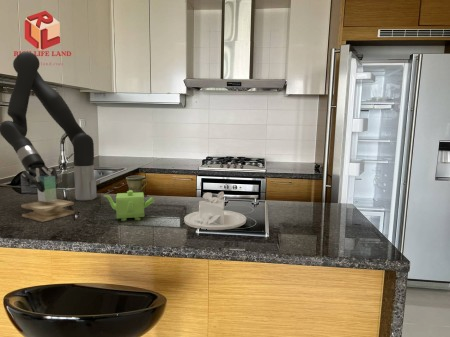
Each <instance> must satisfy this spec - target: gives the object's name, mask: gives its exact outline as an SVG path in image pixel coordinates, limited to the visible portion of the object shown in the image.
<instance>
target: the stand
mask: <svg viewBox="0 0 450 337" xmlns="http://www.w3.org/2000/svg"><path fill="white" fill-rule="evenodd" d="M72 205H75V202H74V201H71V200H70V201H69V200H66V199H65V200H63V199H59V198H56V200H53V201H48V202H43V201H38V200H37V201H33V202H29V203H24V204H21V206H20V207H21V208H23V209H27V210H32V211H30V212H28V213H27V212H26V213H22V214H21V217H22V218H26V219H30V220H33V221H38V222H42V223H43V222H47V221H51V220H55V219H58V218H63V217H66V216H71V215H74V214H75V210H69V209H65V207H68V206H72Z"/></svg>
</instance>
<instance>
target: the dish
mask: <svg viewBox="0 0 450 337" xmlns="http://www.w3.org/2000/svg"><path fill="white" fill-rule="evenodd" d="M224 196H225V193H224V191H219V192H218V194H217V196H213V193H212V192H204V194H203V195H202V198H203V199H205V200H199V201H198V211H194V212H191V213H189V214H188V213H187V214H186V215H185V216H184V218H183V221H184V224H185V225H187V226H188V227H192V228H195V229H199V228H201V229H200V230H206V229H207V230H208V231H223V230H231V229H236V228H239V227H241V226H243V225H245V224H246V222H247V217H246V216H245V215H244V214H242V213H241V212H237V211H232V210H225V199H223V198H224ZM207 230H206V231H207Z"/></svg>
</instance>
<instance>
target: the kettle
mask: <svg viewBox="0 0 450 337" xmlns="http://www.w3.org/2000/svg"><path fill="white" fill-rule="evenodd" d="M104 198H106V199H107V200H108V201H109V204H110V206H111V209H113V210H114V211H116V212H115V215H116V219H118V220H119V219H120V221H121V222H126V221H128V219H130V218H131V219H133V218H134V220H135V221H141V218H144V217H145V209H146V208H147V207H149V206H150V205H152V204H153V203H155V199H154V197H152V196H151V197H150V198H148V199H147V200H146V201H145V194H144V191H143V192H140V193H133V191H132V190H129V189H128V190H127V191H126V192H122V193H121V192H120V193H116V197H115V202H114V200H113V198H112V197H111V195H108V194H106V195H104Z"/></svg>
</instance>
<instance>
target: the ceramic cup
mask: <svg viewBox="0 0 450 337" xmlns="http://www.w3.org/2000/svg"><path fill="white" fill-rule="evenodd" d="M125 181H126V184H127V186H128V191H129V190H132V191H133V193H140V192H143V193H144V188H145V186H147V184H148V183H149V182H148V180H147V179H146V176H145V175H130V176H127V177H125Z"/></svg>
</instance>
